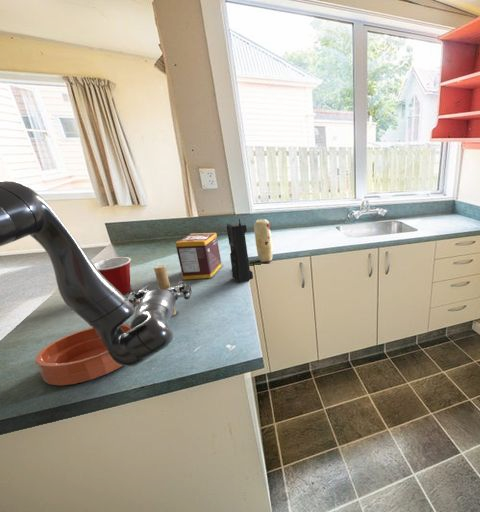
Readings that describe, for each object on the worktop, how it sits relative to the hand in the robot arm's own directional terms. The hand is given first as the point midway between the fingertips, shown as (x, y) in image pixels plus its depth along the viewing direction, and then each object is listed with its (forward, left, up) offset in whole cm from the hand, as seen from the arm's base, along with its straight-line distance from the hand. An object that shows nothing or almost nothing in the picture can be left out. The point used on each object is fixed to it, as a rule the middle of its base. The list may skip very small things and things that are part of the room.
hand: (164, 286), depth 90 cm
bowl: (-13, -20, -10) cm, 25 cm away
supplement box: (+8, +36, -10) cm, 39 cm away
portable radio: (+22, +21, -10) cm, 32 cm away
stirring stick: (0, -1, -10) cm, 10 cm away
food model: (+34, +41, -10) cm, 54 cm away
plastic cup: (-18, +26, -10) cm, 33 cm away
